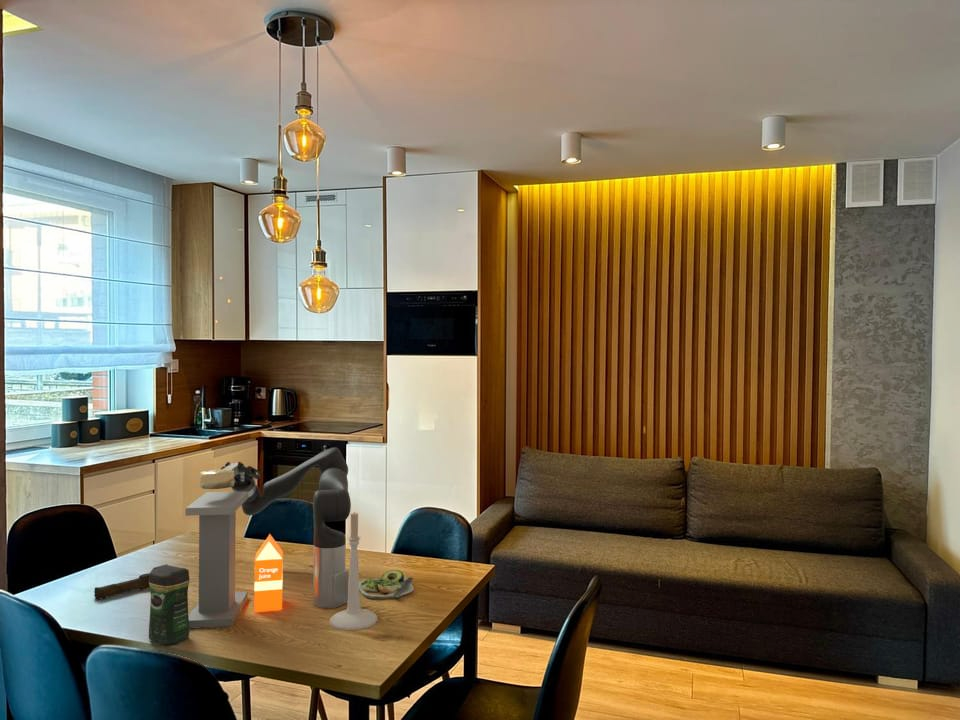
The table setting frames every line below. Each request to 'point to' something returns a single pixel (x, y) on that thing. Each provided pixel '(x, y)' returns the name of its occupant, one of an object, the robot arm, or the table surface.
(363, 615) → the candlestick
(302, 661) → the table surface
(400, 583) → the avocado toast plate
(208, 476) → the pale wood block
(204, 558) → the shelf
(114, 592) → the hand tool
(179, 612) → the coffee jar
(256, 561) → the orange juice
